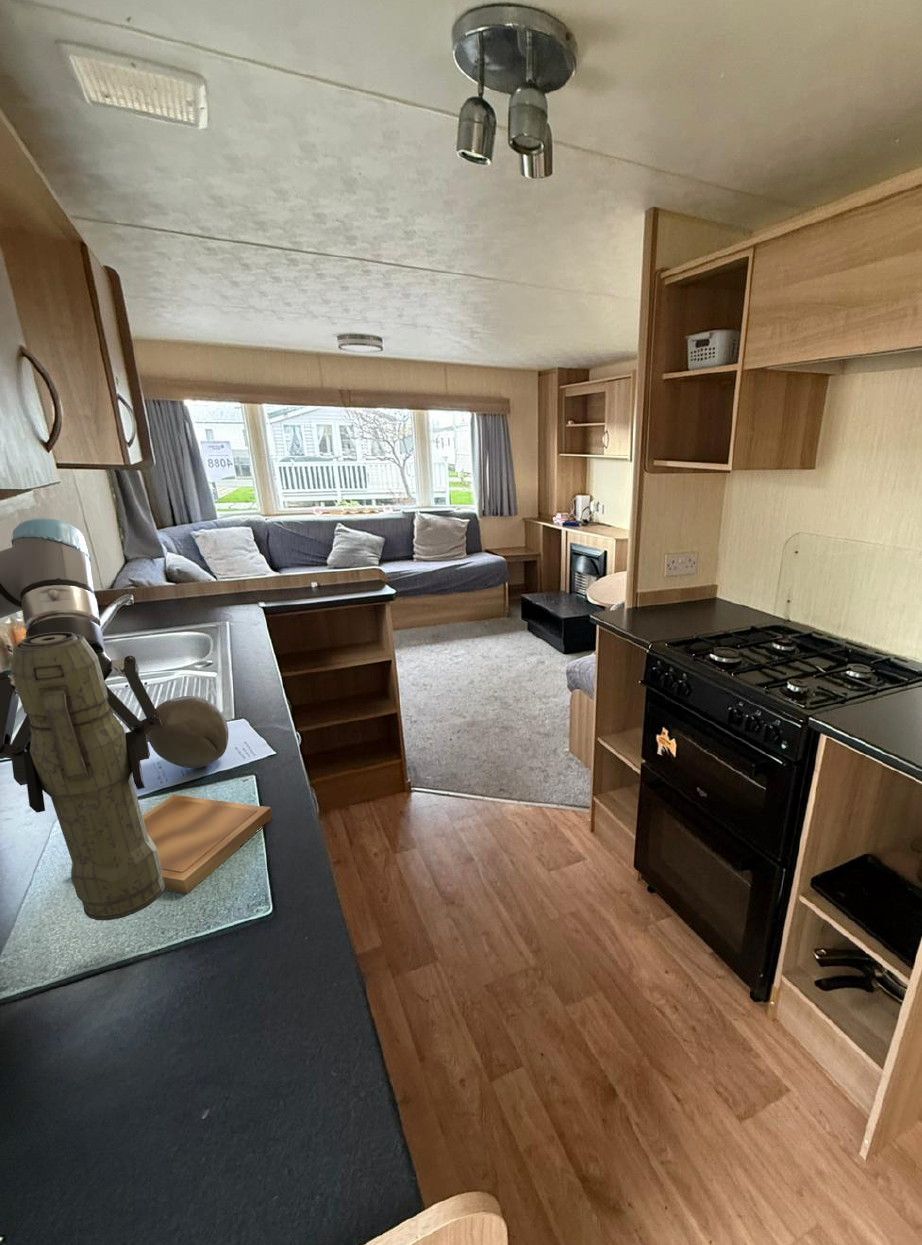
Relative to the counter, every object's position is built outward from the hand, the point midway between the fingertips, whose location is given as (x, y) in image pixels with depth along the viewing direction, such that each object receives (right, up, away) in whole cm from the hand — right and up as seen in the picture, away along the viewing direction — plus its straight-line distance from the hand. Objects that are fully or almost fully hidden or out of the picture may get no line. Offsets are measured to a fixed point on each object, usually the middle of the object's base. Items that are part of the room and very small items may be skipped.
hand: (90, 796), depth 71 cm
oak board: (-9, -14, +32) cm, 36 cm away
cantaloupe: (-22, -5, +57) cm, 61 cm away
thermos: (-2, -15, +9) cm, 17 cm away
